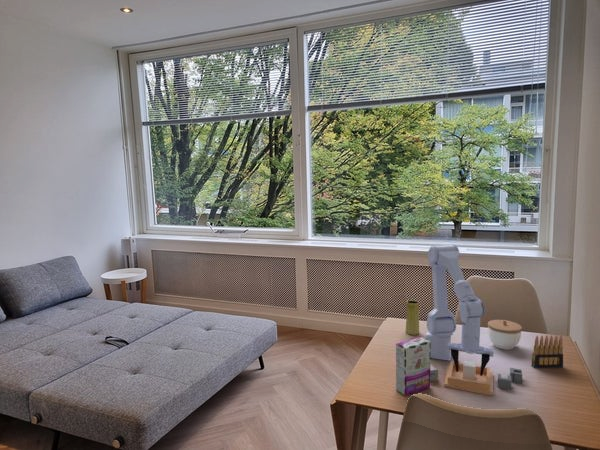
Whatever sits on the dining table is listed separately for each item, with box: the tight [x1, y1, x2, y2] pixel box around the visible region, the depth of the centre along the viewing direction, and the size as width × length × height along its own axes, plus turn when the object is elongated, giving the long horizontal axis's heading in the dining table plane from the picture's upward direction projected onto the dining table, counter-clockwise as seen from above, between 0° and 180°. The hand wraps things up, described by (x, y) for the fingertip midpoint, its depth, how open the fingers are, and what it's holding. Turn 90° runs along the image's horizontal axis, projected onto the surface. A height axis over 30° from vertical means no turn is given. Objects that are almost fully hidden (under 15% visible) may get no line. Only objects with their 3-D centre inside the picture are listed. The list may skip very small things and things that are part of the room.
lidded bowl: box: [487, 319, 523, 351], centre depth 172 cm, size 13×13×11 cm
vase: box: [404, 299, 420, 336], centre depth 187 cm, size 6×6×14 cm
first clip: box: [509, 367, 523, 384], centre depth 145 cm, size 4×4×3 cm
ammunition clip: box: [531, 335, 564, 369], centre depth 153 cm, size 11×2×12 cm, turn 91°
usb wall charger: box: [430, 363, 439, 382], centre depth 148 cm, size 4×7×4 cm, turn 15°
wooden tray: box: [443, 360, 494, 396], centre depth 144 cm, size 15×15×3 cm
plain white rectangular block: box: [462, 360, 477, 381], centre depth 144 cm, size 4×4×5 cm
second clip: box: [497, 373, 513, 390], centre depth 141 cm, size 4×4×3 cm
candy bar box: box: [395, 336, 431, 397], centre depth 138 cm, size 11×5×16 cm, turn 117°
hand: (469, 372), depth 144 cm, fingers open, 7 cm apart
